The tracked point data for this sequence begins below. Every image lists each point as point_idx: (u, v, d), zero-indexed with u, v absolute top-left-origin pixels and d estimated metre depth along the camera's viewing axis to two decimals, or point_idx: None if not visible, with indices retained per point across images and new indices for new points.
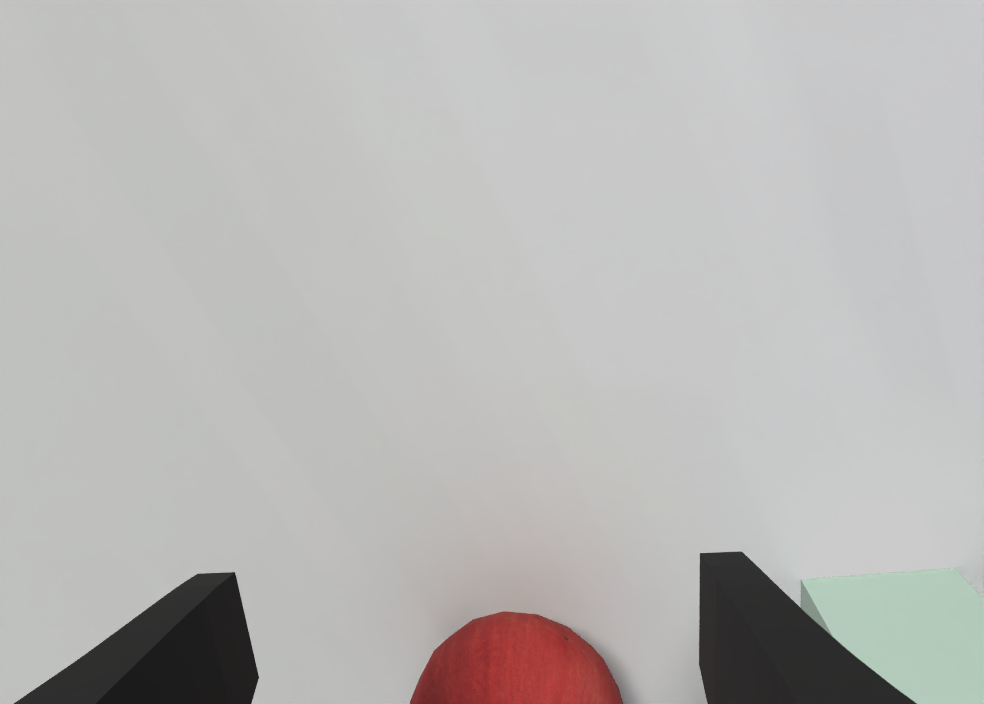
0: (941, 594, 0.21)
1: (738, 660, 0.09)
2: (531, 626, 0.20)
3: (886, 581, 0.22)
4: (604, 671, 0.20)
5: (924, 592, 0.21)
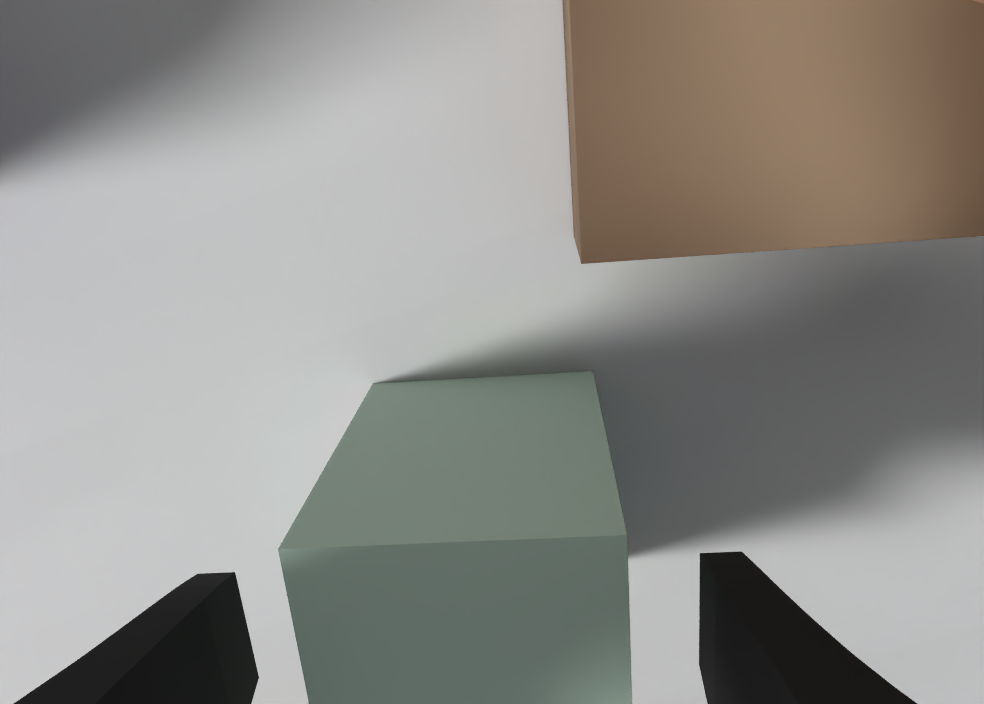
0: None
1: (738, 661, 0.09)
2: None
3: None
4: None
5: None
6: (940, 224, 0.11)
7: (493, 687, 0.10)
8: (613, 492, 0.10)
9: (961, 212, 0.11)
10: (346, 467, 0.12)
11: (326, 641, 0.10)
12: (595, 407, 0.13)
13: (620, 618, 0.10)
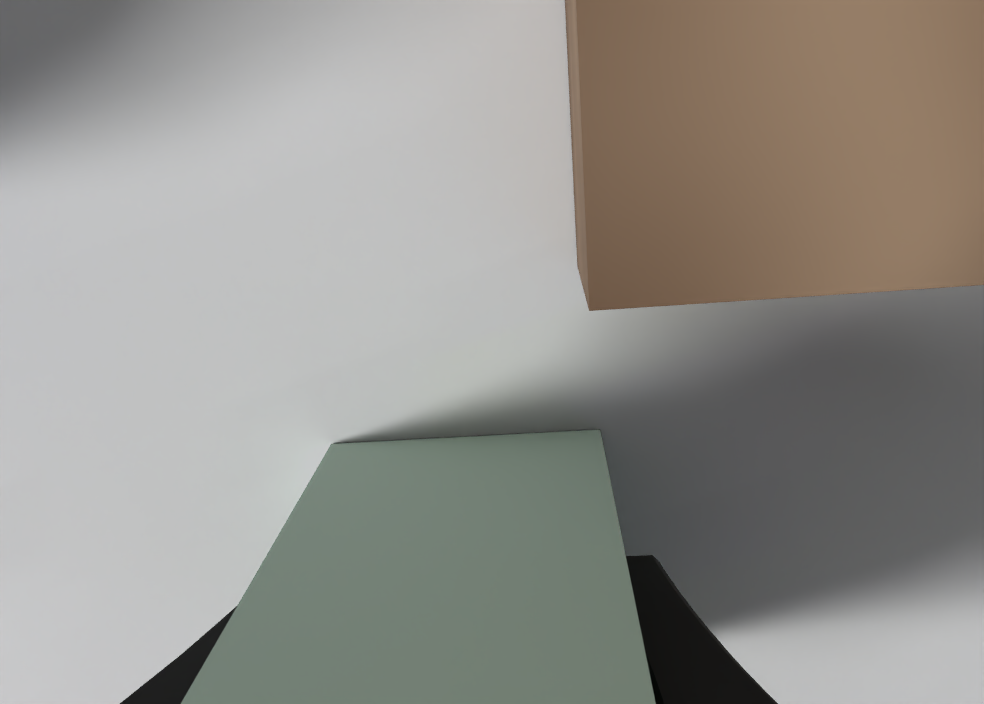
0: None
1: None
2: None
3: None
4: None
5: None
6: None
7: None
8: (635, 633, 0.08)
9: None
10: (280, 579, 0.09)
11: None
12: (605, 486, 0.10)
13: None
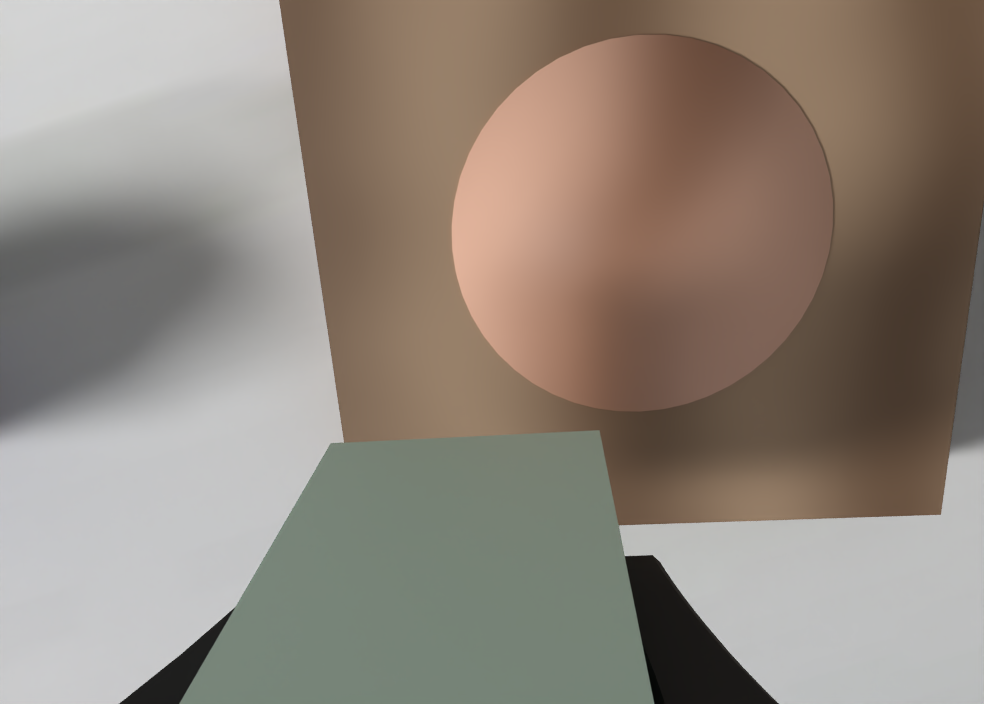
0: None
1: None
2: None
3: None
4: None
5: None
6: None
7: None
8: (633, 634, 0.08)
9: None
10: (280, 578, 0.09)
11: None
12: (604, 487, 0.10)
13: None
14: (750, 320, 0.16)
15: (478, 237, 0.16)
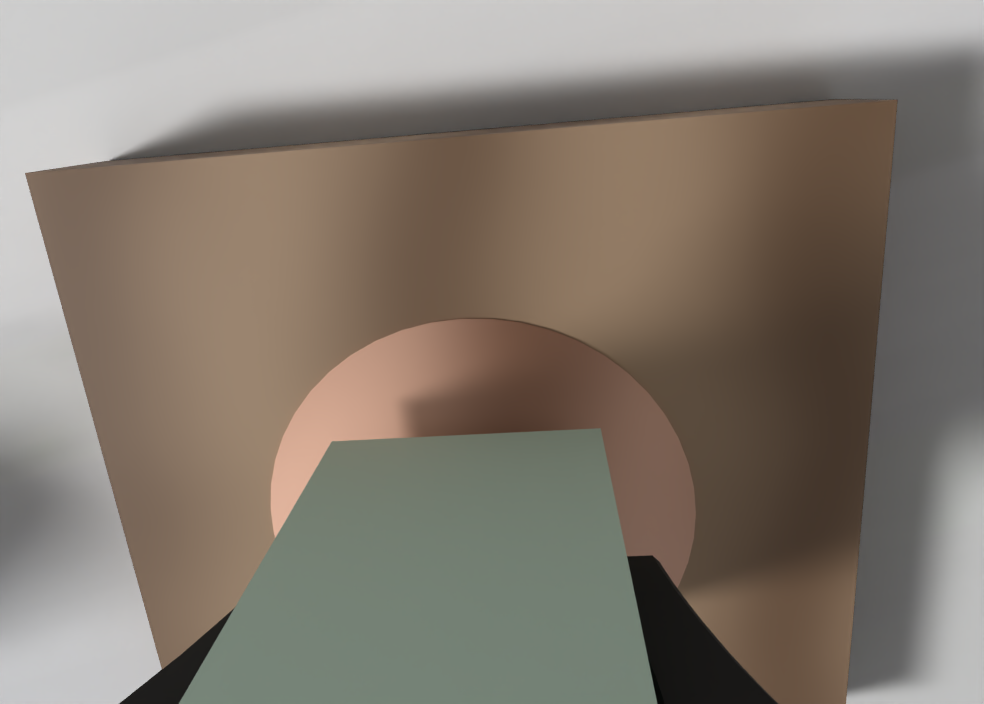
0: None
1: None
2: None
3: None
4: None
5: None
6: None
7: None
8: (636, 631, 0.08)
9: None
10: (281, 575, 0.09)
11: None
12: (606, 485, 0.10)
13: None
14: None
15: None
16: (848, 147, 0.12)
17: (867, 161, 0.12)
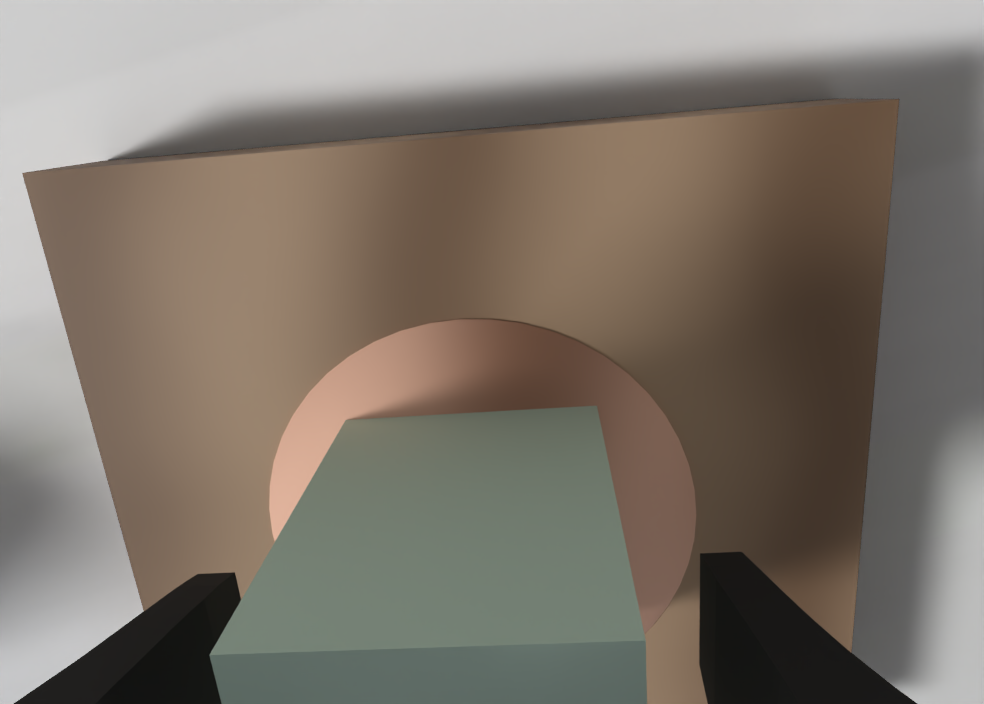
0: None
1: (738, 660, 0.09)
2: None
3: None
4: None
5: None
6: None
7: None
8: (626, 575, 0.08)
9: None
10: (304, 534, 0.10)
11: None
12: (601, 454, 0.11)
13: None
14: None
15: None
16: (849, 147, 0.12)
17: (868, 161, 0.12)
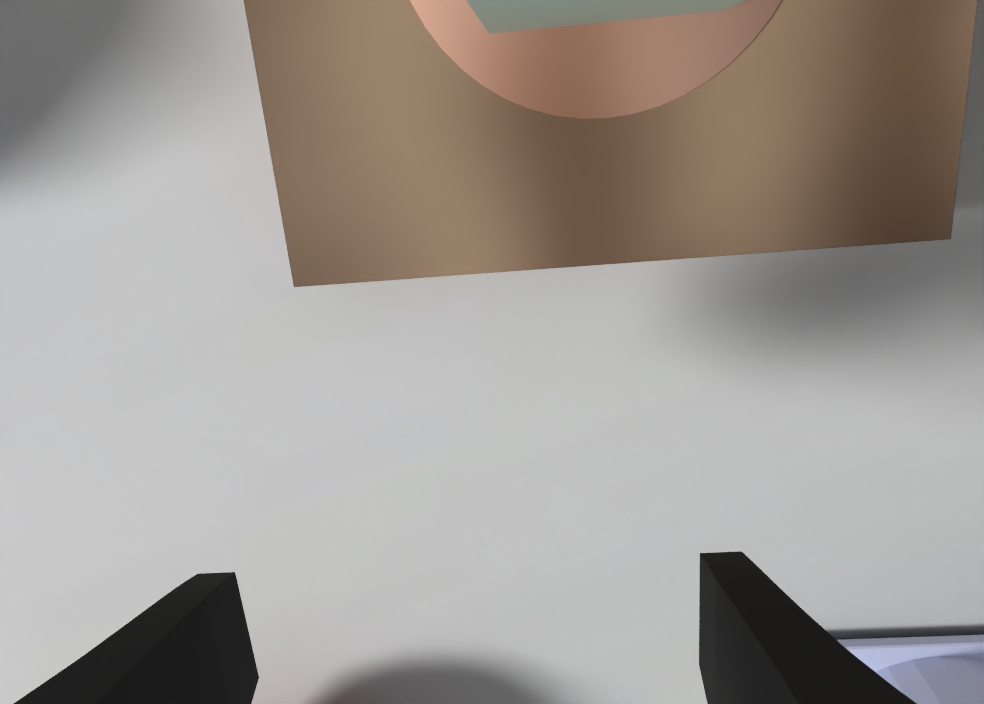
0: None
1: (738, 661, 0.09)
2: None
3: None
4: None
5: None
6: (536, 259, 0.16)
7: None
8: None
9: (548, 251, 0.16)
10: None
11: None
12: None
13: None
14: None
15: None
16: None
17: None
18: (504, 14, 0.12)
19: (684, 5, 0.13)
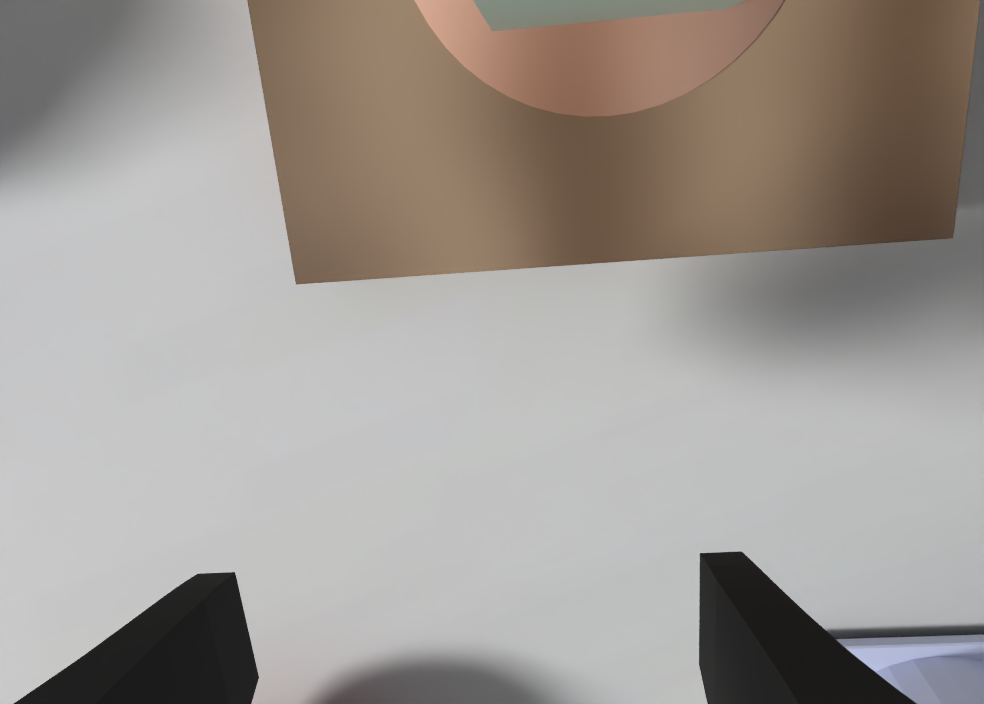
0: None
1: (738, 660, 0.09)
2: None
3: None
4: None
5: None
6: (538, 257, 0.16)
7: None
8: None
9: (551, 249, 0.16)
10: None
11: None
12: None
13: None
14: None
15: None
16: None
17: None
18: (508, 11, 0.12)
19: (688, 3, 0.13)
